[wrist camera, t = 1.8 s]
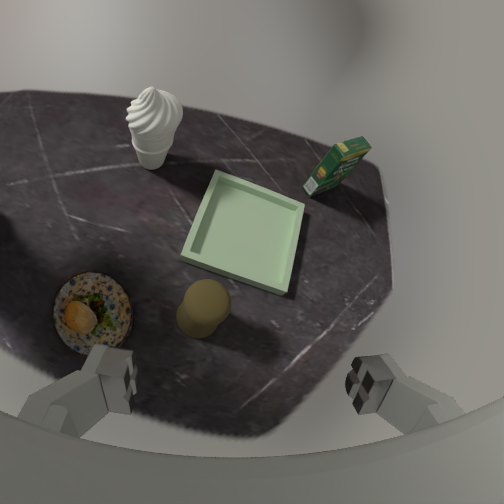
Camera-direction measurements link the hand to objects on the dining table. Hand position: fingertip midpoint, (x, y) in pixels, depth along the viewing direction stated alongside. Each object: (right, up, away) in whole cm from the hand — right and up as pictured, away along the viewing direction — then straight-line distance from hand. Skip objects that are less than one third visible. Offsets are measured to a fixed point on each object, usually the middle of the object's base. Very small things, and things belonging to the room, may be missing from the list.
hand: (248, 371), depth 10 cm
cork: (-7, -5, +30) cm, 31 cm away
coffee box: (+13, +17, +46) cm, 50 cm away
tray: (-1, +7, +37) cm, 38 cm away
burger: (-22, -4, +26) cm, 34 cm away
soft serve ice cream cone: (-17, +20, +37) cm, 45 cm away
